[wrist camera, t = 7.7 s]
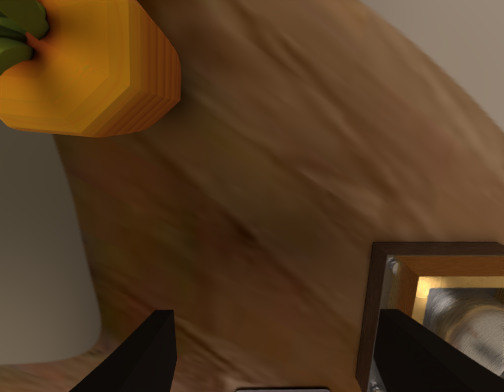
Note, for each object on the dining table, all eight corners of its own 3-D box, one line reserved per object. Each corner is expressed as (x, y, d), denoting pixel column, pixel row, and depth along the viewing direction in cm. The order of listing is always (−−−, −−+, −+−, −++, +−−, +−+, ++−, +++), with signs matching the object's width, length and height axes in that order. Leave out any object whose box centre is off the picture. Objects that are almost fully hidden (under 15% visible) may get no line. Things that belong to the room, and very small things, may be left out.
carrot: (220, 72, 16) (29, -313, 2) (186, 146, 18) (-99, 248, 3) (143, 28, 16) (-991, -1025, 1) (112, 108, 17) (-699, 10, 2)
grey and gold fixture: (462, 375, 23) (514, 435, 18) (355, 376, 23) (381, 436, 18) (497, 242, 20) (568, 275, 15) (373, 241, 20) (409, 275, 15)
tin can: (473, 329, 19) (579, 424, 13) (409, 335, 19) (485, 433, 13) (484, 252, 18) (609, 320, 12) (414, 258, 18) (503, 329, 12)
